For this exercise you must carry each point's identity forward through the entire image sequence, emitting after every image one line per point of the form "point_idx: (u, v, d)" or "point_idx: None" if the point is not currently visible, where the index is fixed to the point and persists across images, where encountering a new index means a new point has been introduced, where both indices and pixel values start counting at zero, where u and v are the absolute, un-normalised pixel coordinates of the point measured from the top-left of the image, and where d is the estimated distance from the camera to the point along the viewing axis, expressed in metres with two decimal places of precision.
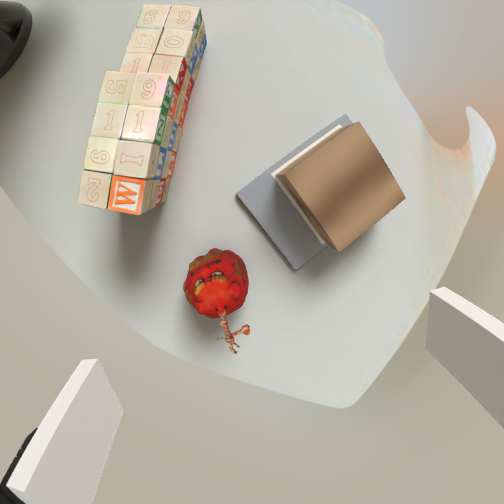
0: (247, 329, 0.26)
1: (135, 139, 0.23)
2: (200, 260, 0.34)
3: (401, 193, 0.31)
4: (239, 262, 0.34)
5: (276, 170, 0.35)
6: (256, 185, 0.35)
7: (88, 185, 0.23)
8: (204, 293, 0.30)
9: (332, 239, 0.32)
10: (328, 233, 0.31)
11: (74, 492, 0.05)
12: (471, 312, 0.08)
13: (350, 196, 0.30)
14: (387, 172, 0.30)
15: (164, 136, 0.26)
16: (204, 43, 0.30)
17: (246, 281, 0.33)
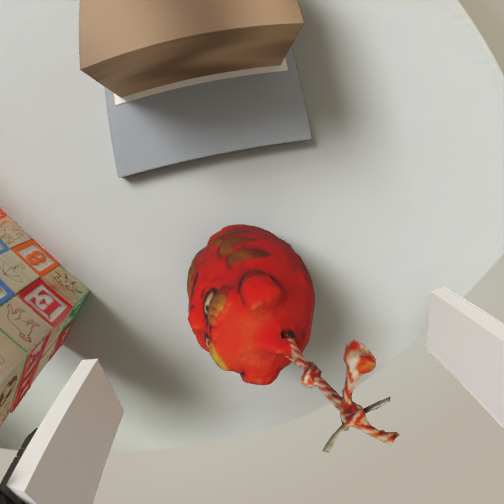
0: (359, 360, 0.07)
1: None
2: None
3: None
4: (225, 236, 0.15)
5: None
6: (121, 137, 0.17)
7: None
8: (230, 355, 0.12)
9: (266, 22, 0.10)
10: (248, 24, 0.10)
11: (74, 492, 0.05)
12: (471, 312, 0.08)
13: None
14: None
15: None
16: None
17: (266, 246, 0.14)
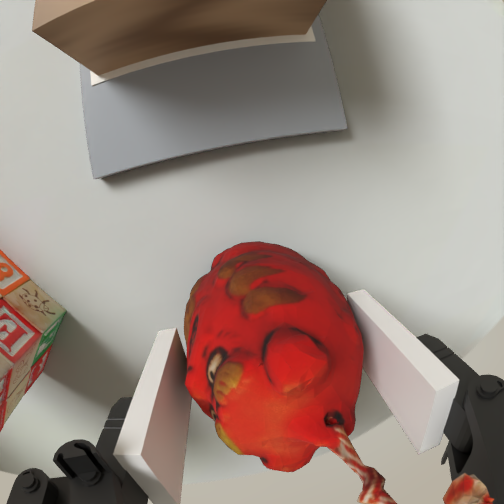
0: None
1: None
2: None
3: None
4: (236, 264, 0.10)
5: (91, 71, 0.11)
6: (97, 125, 0.12)
7: None
8: (247, 441, 0.08)
9: None
10: None
11: (172, 455, 0.07)
12: (377, 315, 0.10)
13: None
14: None
15: None
16: None
17: (299, 281, 0.09)
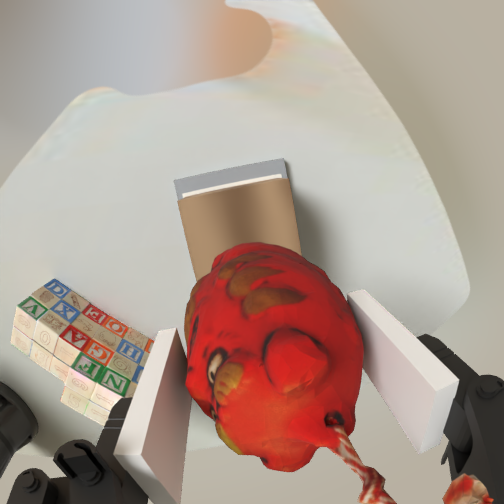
0: None
1: None
2: None
3: (280, 182, 0.27)
4: (236, 264, 0.10)
5: None
6: None
7: None
8: (248, 442, 0.08)
9: None
10: None
11: (172, 455, 0.07)
12: (377, 315, 0.10)
13: None
14: (248, 190, 0.27)
15: (124, 373, 0.28)
16: (55, 283, 0.33)
17: (299, 282, 0.09)
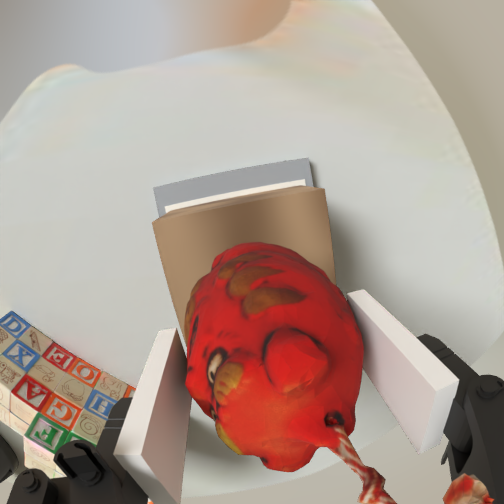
0: None
1: None
2: None
3: (312, 194, 0.17)
4: (236, 264, 0.10)
5: None
6: None
7: None
8: (248, 442, 0.08)
9: None
10: None
11: (173, 455, 0.07)
12: (377, 315, 0.10)
13: None
14: (262, 206, 0.17)
15: (94, 438, 0.19)
16: (11, 317, 0.24)
17: (299, 282, 0.09)
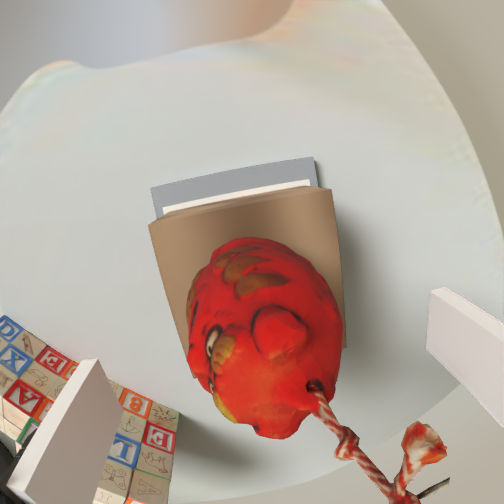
0: (427, 453, 0.04)
1: None
2: None
3: (318, 195, 0.16)
4: (231, 255, 0.12)
5: None
6: None
7: None
8: (241, 409, 0.09)
9: None
10: None
11: (74, 492, 0.05)
12: (471, 312, 0.08)
13: None
14: (266, 208, 0.16)
15: None
16: (4, 322, 0.23)
17: (284, 268, 0.11)
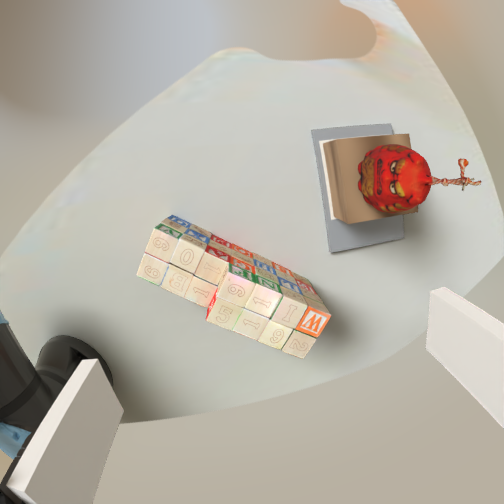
0: (464, 160, 0.20)
1: (275, 307, 0.32)
2: (367, 179, 0.30)
3: (404, 135, 0.32)
4: (387, 145, 0.28)
5: (330, 214, 0.41)
6: (333, 234, 0.41)
7: (294, 348, 0.33)
8: (407, 186, 0.26)
9: (407, 212, 0.35)
10: (402, 213, 0.35)
11: (74, 492, 0.05)
12: (471, 312, 0.08)
13: None
14: (384, 138, 0.32)
15: (271, 279, 0.34)
16: (175, 218, 0.40)
17: (408, 148, 0.27)
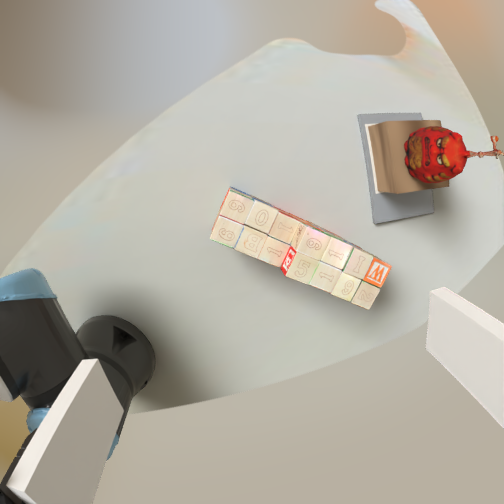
0: (495, 137, 0.23)
1: (347, 259, 0.34)
2: (415, 154, 0.33)
3: (437, 121, 0.36)
4: (430, 126, 0.31)
5: (375, 188, 0.43)
6: (377, 207, 0.44)
7: (362, 299, 0.35)
8: (451, 158, 0.29)
9: (441, 186, 0.38)
10: (437, 186, 0.38)
11: (74, 492, 0.05)
12: (471, 312, 0.08)
13: None
14: (422, 123, 0.35)
15: (336, 237, 0.37)
16: (234, 189, 0.42)
17: None
